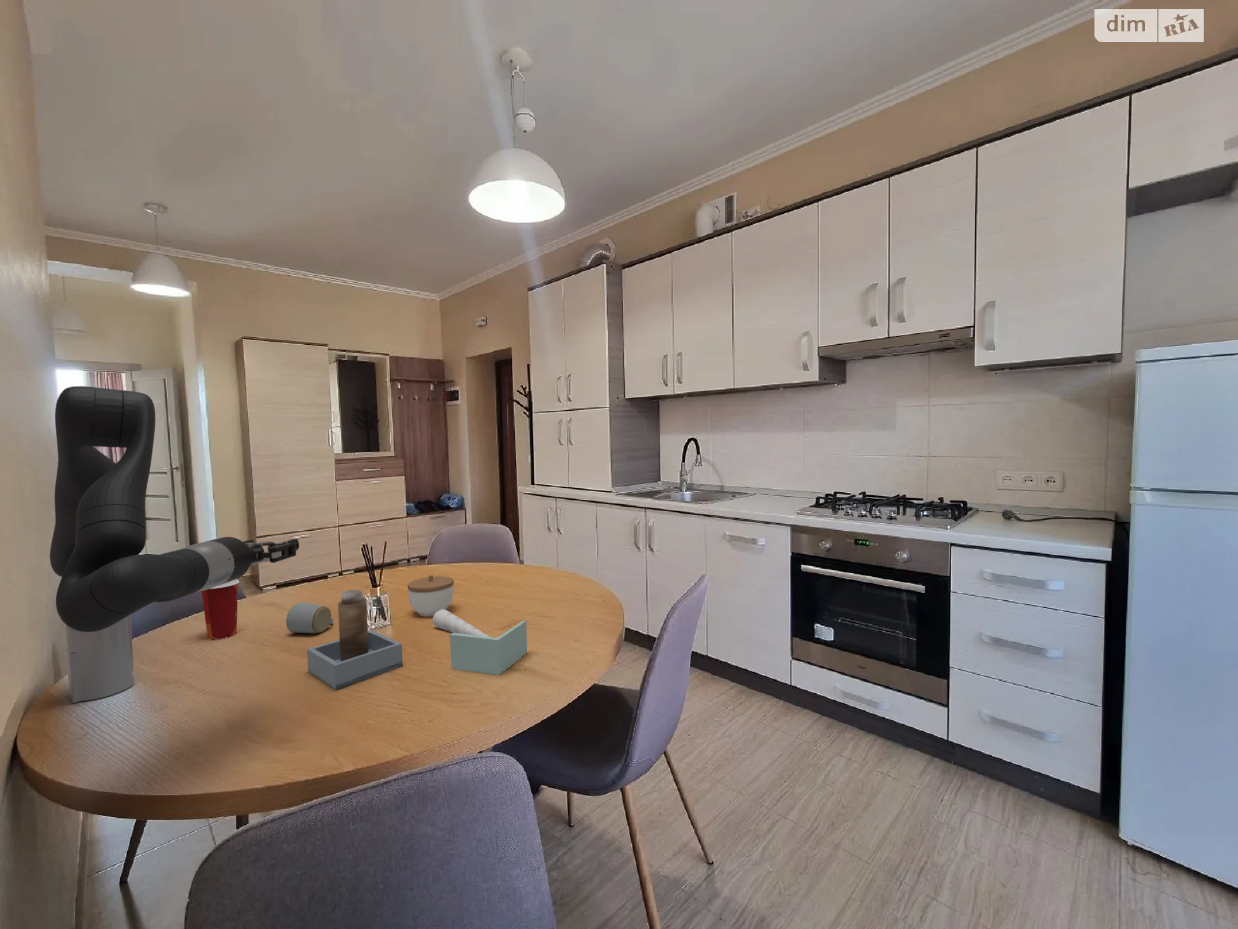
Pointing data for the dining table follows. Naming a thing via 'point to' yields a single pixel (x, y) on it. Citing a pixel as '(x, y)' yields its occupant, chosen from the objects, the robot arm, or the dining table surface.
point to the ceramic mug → (308, 618)
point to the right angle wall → (488, 650)
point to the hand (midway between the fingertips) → (274, 544)
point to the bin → (354, 661)
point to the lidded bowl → (430, 594)
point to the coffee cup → (221, 610)
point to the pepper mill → (353, 625)
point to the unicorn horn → (454, 624)
